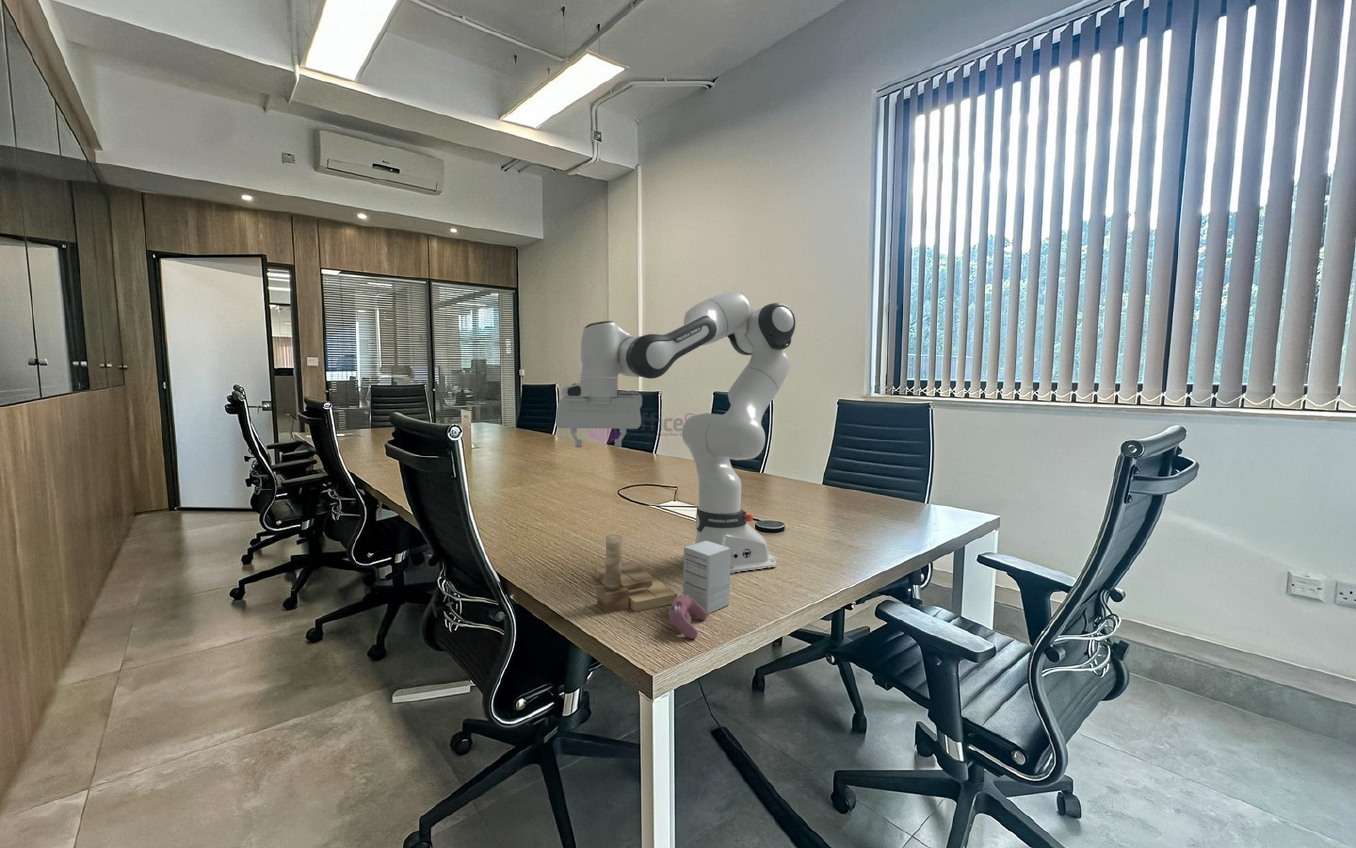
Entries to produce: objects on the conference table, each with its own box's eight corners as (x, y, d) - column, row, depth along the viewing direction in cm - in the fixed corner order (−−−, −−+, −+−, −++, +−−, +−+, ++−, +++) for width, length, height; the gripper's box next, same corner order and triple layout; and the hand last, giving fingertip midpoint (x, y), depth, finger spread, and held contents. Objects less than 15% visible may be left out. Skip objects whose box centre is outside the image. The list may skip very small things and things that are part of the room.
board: (594, 576, 131) (595, 568, 130) (632, 570, 136) (632, 562, 135) (635, 611, 112) (635, 602, 112) (677, 602, 117) (677, 593, 117)
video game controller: (689, 623, 111) (675, 592, 111) (709, 616, 109) (695, 584, 110) (676, 646, 101) (661, 611, 101) (698, 639, 100) (682, 604, 100)
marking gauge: (606, 613, 111) (607, 541, 109) (597, 604, 115) (598, 535, 114) (655, 603, 116) (657, 534, 115) (644, 595, 121) (646, 528, 119)
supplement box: (704, 594, 122) (706, 539, 120) (730, 605, 116) (732, 547, 115) (681, 603, 116) (682, 546, 115) (706, 615, 111) (708, 555, 110)
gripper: (640, 390, 135) (639, 445, 136) (556, 388, 131) (555, 445, 132) (644, 390, 129) (642, 448, 130) (555, 389, 124) (555, 448, 126)
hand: (598, 447), depth 131 cm, fingers open, 8 cm apart
